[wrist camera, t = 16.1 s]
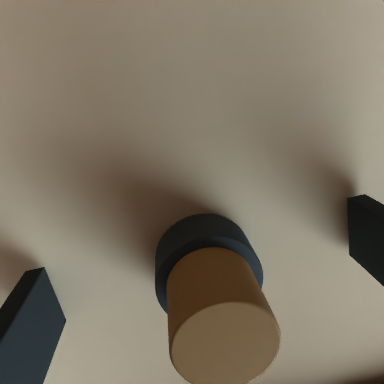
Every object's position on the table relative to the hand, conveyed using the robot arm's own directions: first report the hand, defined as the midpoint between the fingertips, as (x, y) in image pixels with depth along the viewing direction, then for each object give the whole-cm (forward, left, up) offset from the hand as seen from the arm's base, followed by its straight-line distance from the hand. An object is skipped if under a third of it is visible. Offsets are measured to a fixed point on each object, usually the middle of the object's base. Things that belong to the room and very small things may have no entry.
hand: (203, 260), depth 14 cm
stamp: (0, 0, 0) cm, 0 cm away
